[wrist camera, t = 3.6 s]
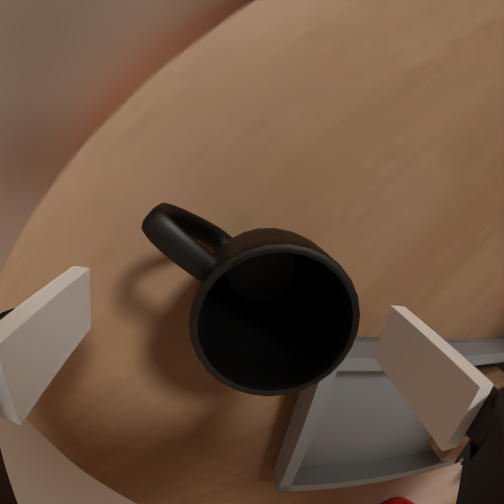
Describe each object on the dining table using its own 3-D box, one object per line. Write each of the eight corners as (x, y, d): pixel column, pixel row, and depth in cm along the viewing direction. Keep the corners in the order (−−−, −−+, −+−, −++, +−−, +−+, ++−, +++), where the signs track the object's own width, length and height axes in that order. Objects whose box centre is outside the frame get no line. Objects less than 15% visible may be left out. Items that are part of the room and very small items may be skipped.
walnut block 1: (447, 417, 29) (462, 437, 25) (464, 419, 30) (479, 437, 26) (427, 440, 30) (441, 461, 26) (445, 441, 31) (458, 460, 27)
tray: (315, 334, 25) (326, 356, 22) (508, 337, 28) (525, 350, 25) (273, 468, 30) (277, 491, 26) (449, 446, 32) (460, 461, 29)
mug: (219, 152, 22) (210, 139, 12) (335, 265, 24) (390, 319, 15) (143, 237, 23) (91, 280, 13) (260, 338, 25) (275, 419, 16)
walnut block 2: (468, 368, 27) (487, 387, 24) (490, 361, 28) (510, 378, 24) (457, 396, 28) (475, 416, 24) (480, 388, 29) (498, 406, 25)
